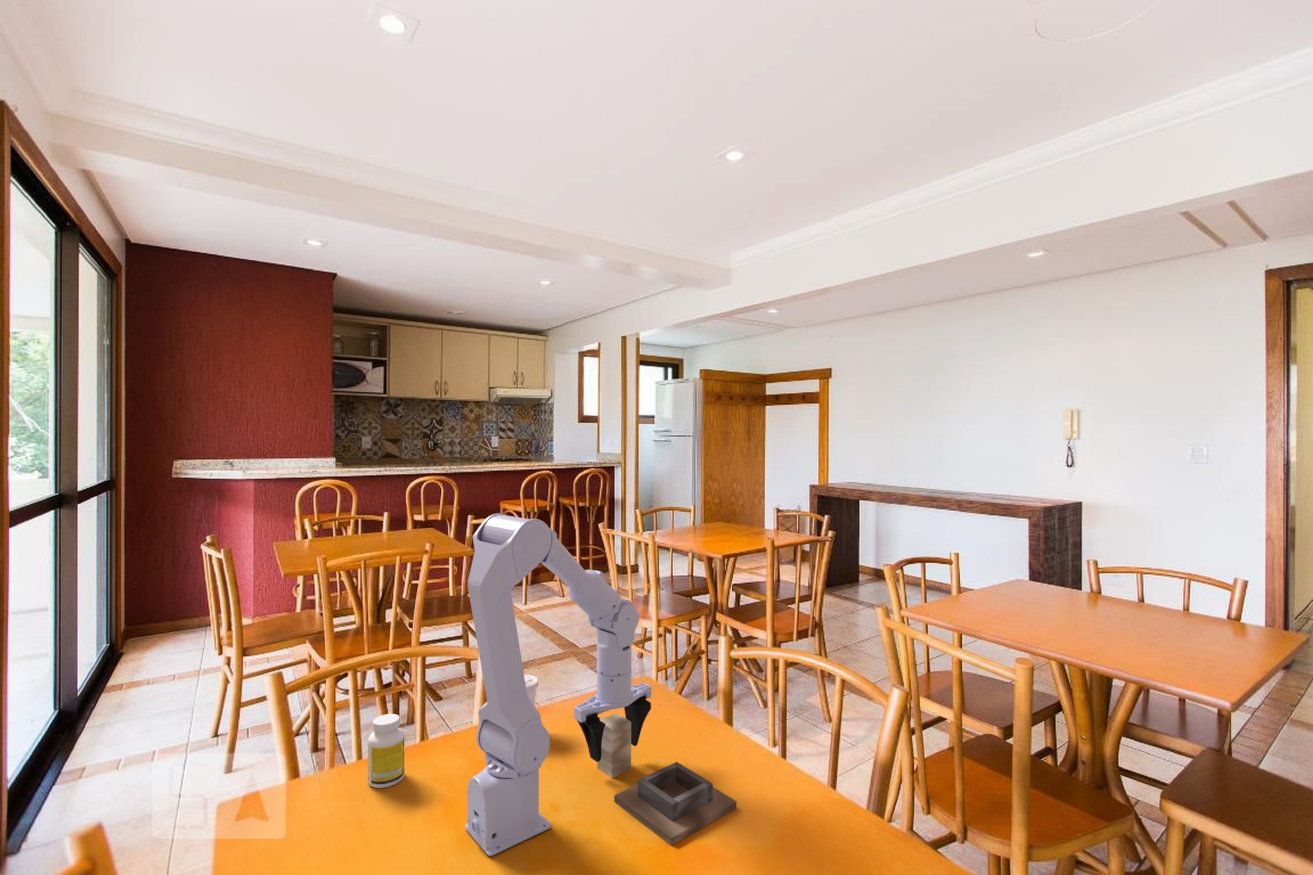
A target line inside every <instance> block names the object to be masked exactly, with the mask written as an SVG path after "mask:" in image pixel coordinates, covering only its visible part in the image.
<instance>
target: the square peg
mask: <svg viewBox="0 0 1313 875" xmlns="http://www.w3.org/2000/svg"><path fill="white" fill-rule="evenodd" d="M600 721H602V722H603V723H605V724H606V725H605V728H604V731H603V736H602V753H601V760H600V761H598V762H596V763H597V764H596V765H597V769H598V770H600V771H601V772H602V773H604V774H605V775H606V776H608V777H609V778H610V779H613V778H615V777H618V776H619V775H622V774H624V773H626V772H628V771H631V770H632V744H631V721H629V720H627V719H626V717H624V716H622V715H620V714H618V712H617V713H613V714H611V715H609V716H606V717H603V718H600Z"/></svg>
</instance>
